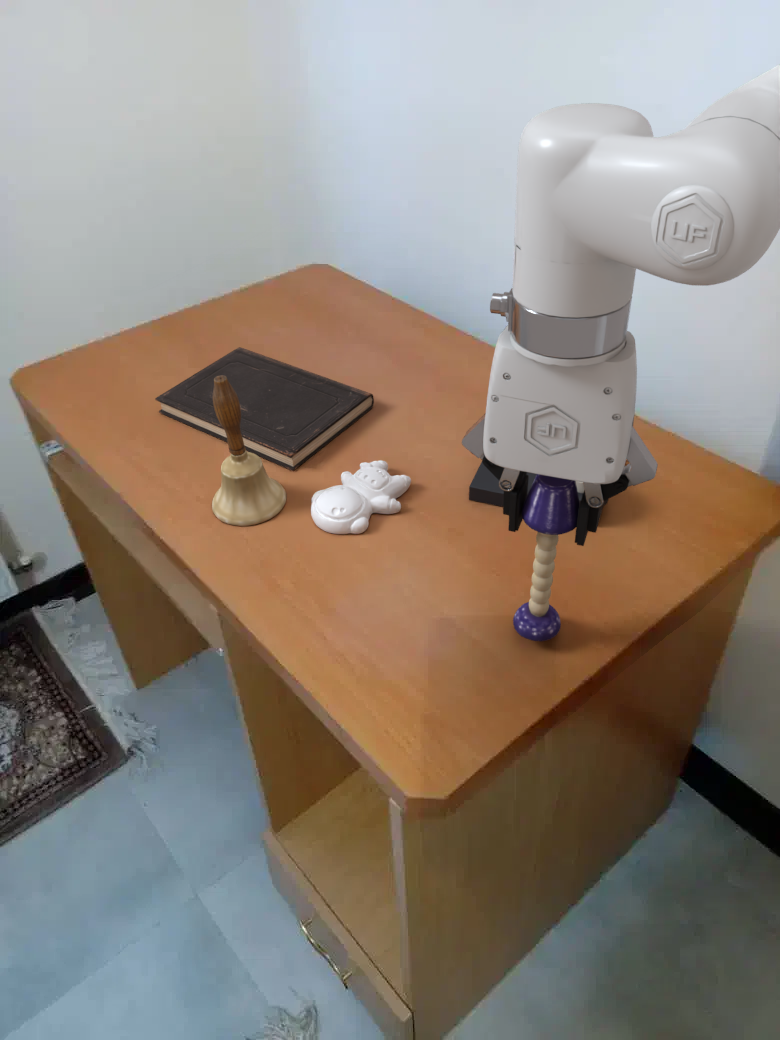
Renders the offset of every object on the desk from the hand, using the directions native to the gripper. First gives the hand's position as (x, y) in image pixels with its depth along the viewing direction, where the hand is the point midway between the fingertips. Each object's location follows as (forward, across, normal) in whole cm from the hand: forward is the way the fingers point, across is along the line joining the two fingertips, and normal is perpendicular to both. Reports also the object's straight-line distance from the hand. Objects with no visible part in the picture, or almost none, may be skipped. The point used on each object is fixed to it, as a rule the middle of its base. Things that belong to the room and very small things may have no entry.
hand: (549, 525), depth 63 cm
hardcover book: (+12, -42, +25) cm, 50 cm away
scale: (+13, -5, +23) cm, 27 cm away
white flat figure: (+13, -23, +12) cm, 29 cm away
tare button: (+10, 0, +19) cm, 21 cm away
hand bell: (+13, -35, +8) cm, 38 cm away
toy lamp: (+12, 0, 0) cm, 12 cm away
